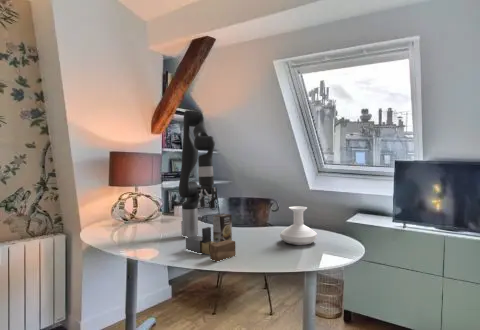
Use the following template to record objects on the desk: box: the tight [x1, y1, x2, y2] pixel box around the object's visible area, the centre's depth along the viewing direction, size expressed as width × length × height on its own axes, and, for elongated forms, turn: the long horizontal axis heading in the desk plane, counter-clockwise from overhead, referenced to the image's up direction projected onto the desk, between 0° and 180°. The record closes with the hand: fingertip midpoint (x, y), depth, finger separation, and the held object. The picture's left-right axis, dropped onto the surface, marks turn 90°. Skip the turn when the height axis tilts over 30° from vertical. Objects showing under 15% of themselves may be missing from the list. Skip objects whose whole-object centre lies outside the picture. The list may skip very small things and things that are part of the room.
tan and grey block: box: [201, 226, 216, 256], centre depth 169 cm, size 15×5×12 cm, turn 49°
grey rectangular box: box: [185, 235, 202, 253], centre depth 172 cm, size 11×7×7 cm, turn 49°
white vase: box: [279, 205, 318, 246], centre depth 186 cm, size 20×20×19 cm
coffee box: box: [212, 213, 233, 243], centre depth 185 cm, size 9×6×16 cm
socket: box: [209, 240, 236, 262], centre depth 160 cm, size 5×12×7 cm, turn 139°
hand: (207, 207), depth 171 cm, fingers open, 8 cm apart
